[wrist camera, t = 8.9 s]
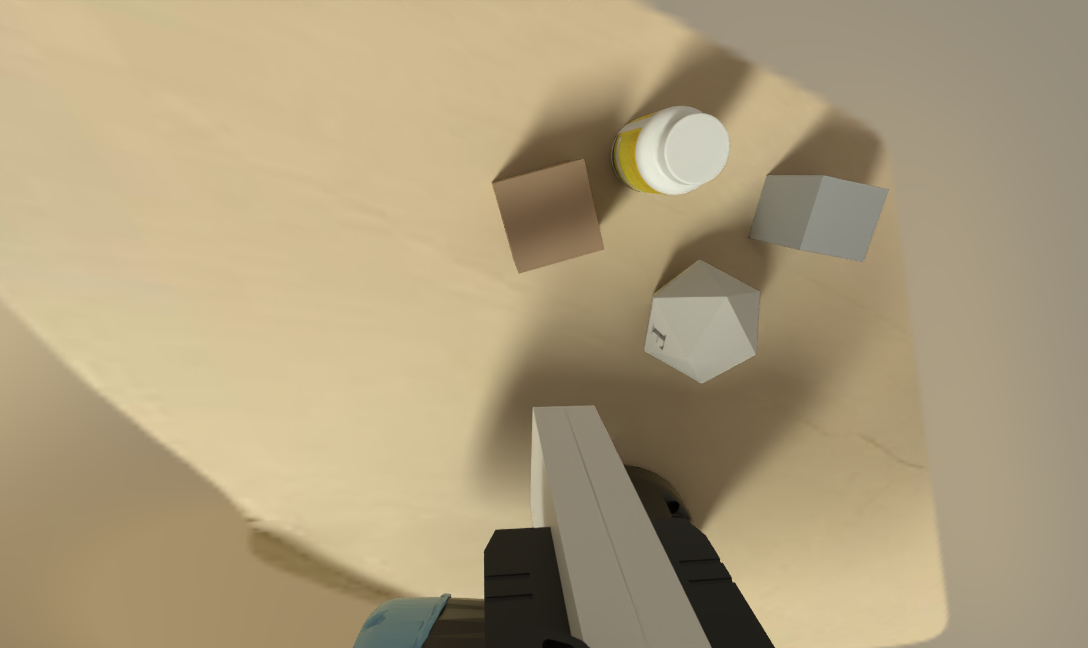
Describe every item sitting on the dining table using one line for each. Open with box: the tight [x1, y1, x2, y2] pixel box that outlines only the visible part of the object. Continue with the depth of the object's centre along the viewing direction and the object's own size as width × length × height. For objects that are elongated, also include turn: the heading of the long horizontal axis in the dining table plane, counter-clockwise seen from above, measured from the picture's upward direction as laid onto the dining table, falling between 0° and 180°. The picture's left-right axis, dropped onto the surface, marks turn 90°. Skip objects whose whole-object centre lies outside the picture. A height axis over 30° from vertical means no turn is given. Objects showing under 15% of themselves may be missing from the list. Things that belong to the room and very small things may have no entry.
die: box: [644, 259, 760, 384], centre depth 39 cm, size 8×9×10 cm
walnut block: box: [492, 159, 604, 273], centre depth 36 cm, size 6×6×6 cm
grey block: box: [748, 175, 888, 262], centre depth 38 cm, size 5×5×7 cm
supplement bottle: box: [611, 106, 730, 195], centre depth 34 cm, size 5×5×10 cm
